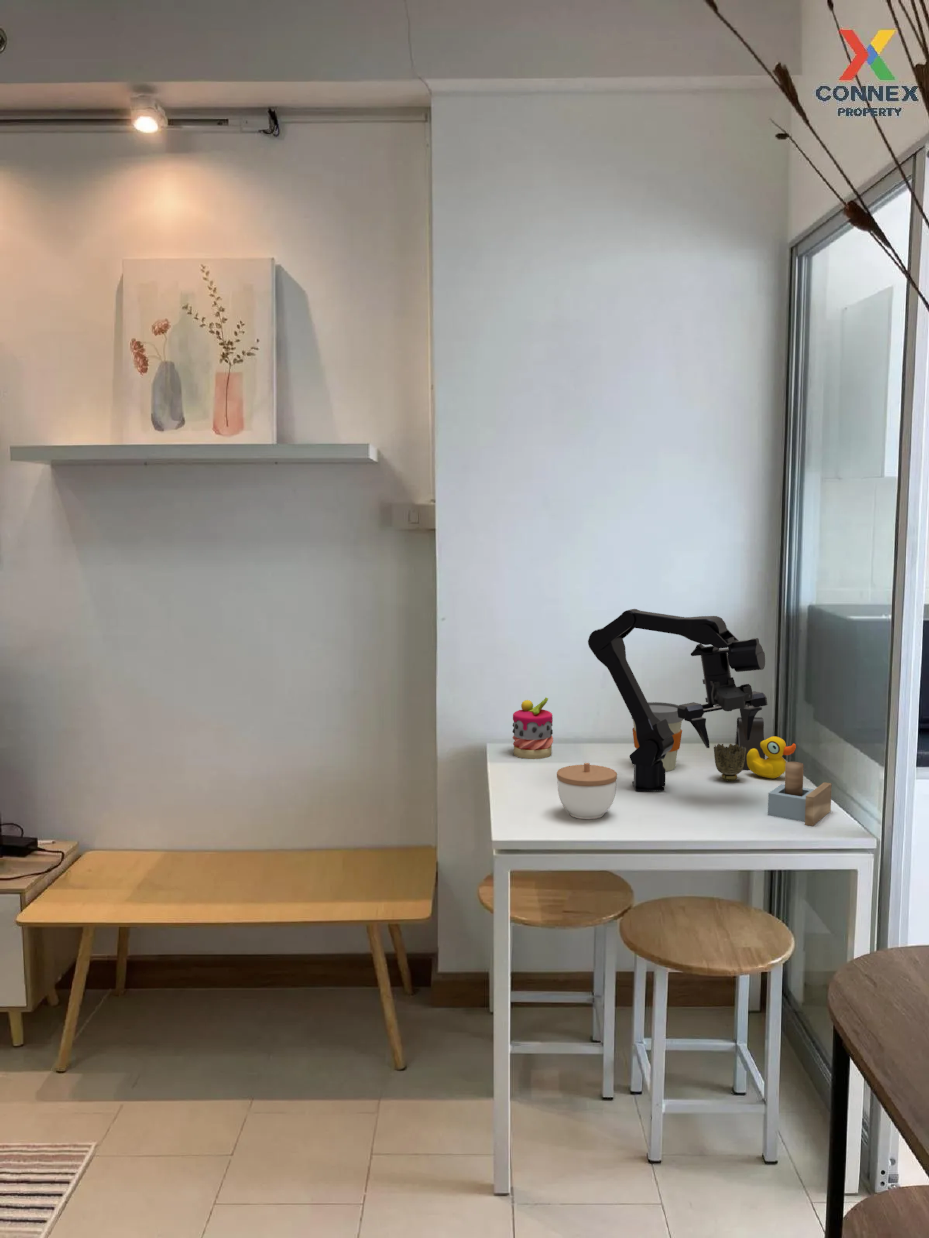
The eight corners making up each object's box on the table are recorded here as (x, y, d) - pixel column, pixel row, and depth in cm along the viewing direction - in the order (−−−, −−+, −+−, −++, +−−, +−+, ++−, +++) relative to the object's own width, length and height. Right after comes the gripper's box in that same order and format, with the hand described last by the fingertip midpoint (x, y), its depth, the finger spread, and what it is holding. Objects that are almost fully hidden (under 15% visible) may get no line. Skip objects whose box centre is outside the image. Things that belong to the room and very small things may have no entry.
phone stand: (765, 770, 250) (766, 721, 249) (740, 770, 251) (741, 721, 249) (757, 760, 259) (758, 713, 258) (733, 760, 260) (734, 713, 258)
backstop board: (804, 824, 210) (805, 796, 209) (823, 809, 219) (823, 782, 219) (812, 826, 209) (813, 797, 208) (830, 810, 218) (831, 783, 218)
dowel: (792, 813, 215) (793, 767, 213) (780, 808, 218) (781, 762, 217) (805, 811, 216) (807, 764, 215) (793, 806, 219) (795, 760, 218)
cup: (742, 775, 246) (743, 743, 245) (748, 784, 238) (749, 751, 237) (710, 775, 246) (711, 742, 245) (715, 784, 239) (716, 750, 238)
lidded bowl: (544, 815, 217) (544, 764, 216) (578, 801, 227) (578, 752, 226) (595, 827, 209) (595, 774, 208) (628, 812, 219) (628, 761, 217)
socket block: (767, 816, 216) (768, 793, 216) (781, 806, 223) (781, 784, 222) (805, 823, 212) (806, 799, 211) (818, 813, 218) (819, 790, 217)
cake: (512, 759, 263) (512, 701, 261) (512, 749, 273) (512, 693, 271) (553, 759, 262) (553, 701, 261) (551, 749, 273) (551, 693, 271)
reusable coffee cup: (632, 773, 249) (632, 712, 247) (629, 759, 261) (630, 701, 259) (684, 774, 248) (685, 713, 246) (680, 760, 260) (681, 702, 258)
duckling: (797, 778, 243) (799, 736, 242) (791, 783, 239) (792, 741, 237) (750, 771, 249) (751, 731, 248) (743, 776, 245) (744, 735, 243)
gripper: (690, 683, 216) (701, 756, 216) (773, 668, 218) (784, 741, 219) (671, 680, 227) (682, 749, 227) (750, 666, 229) (761, 734, 230)
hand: (727, 744), depth 225 cm, fingers open, 9 cm apart
